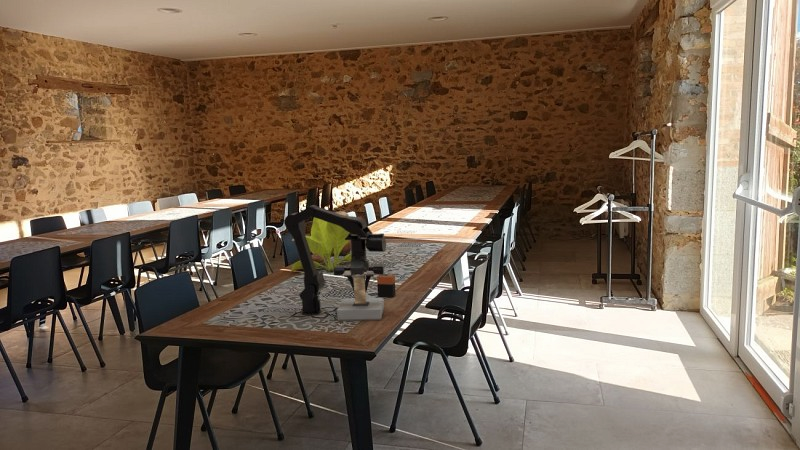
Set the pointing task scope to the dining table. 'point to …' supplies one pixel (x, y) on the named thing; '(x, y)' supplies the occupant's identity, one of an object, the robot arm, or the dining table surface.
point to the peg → (359, 289)
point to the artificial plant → (326, 243)
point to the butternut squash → (348, 245)
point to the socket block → (360, 310)
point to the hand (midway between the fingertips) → (360, 291)
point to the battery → (386, 285)
